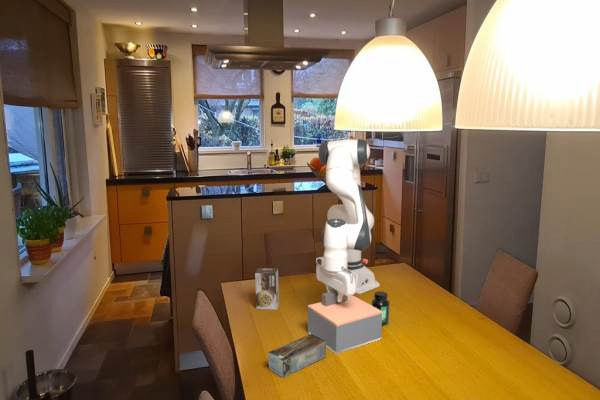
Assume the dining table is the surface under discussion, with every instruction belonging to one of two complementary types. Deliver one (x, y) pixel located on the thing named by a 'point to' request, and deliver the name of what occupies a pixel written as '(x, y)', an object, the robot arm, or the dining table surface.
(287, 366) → the beverage carton
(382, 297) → the supplement bottle
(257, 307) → the coffee box
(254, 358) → the dining table surface
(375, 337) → the storage box
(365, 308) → the cover
